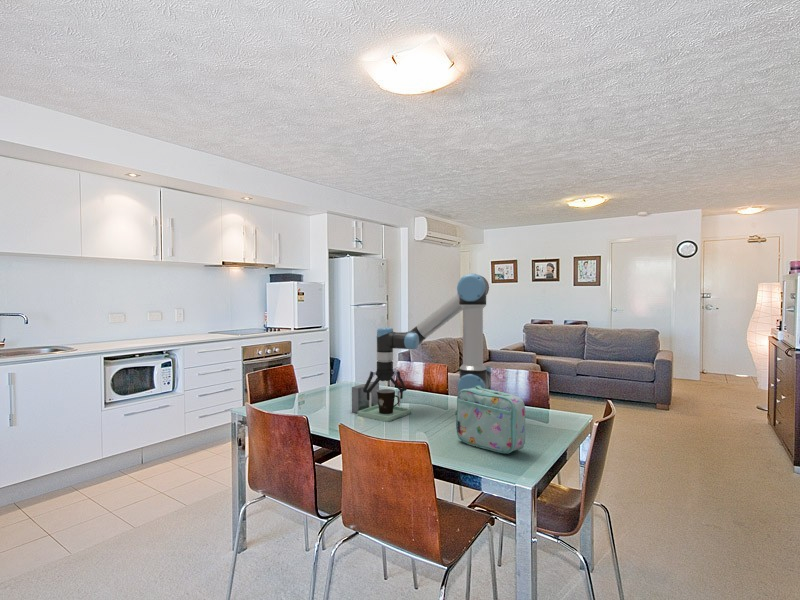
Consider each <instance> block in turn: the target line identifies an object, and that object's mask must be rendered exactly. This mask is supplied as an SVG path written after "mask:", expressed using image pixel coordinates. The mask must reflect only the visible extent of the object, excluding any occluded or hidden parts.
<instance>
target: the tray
mask: <svg viewBox="0 0 800 600" xmlns="http://www.w3.org/2000/svg"><path fill="white" fill-rule="evenodd" d="M410 414H412V409H411V408H406V407H402V406H400V407H399V406H398V405H396V406H395V407H393V413H391V414H381V413H379V405H376V406H373V407H371V408H370V407H369V408H366V409H363V410H360V411H358V413H357V416H359V417H363V418H367V419H371V420H372V419H373V420H377V421H381V422H387V423H389V422H392V421H395V420H397V419H400V418H402V417H405V416H408V415H410Z"/></svg>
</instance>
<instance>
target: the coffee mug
mask: <svg viewBox="0 0 800 600" xmlns="http://www.w3.org/2000/svg"><path fill="white" fill-rule="evenodd" d="M377 396H378V405H379V413H381V414H391V413H393V407H395V406H398V403H399V401H400V402H401V399H399V397H398V394H397V395H396V390H395V389H391V388H390V389H389V388H383V389H381V388H380V389H379V390H377ZM395 398H396V399H397V402H396V404H395Z"/></svg>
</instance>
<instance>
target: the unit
mask: <svg viewBox="0 0 800 600" xmlns="http://www.w3.org/2000/svg"><path fill="white" fill-rule="evenodd" d="M373 382H374V381H371V382H370V384H369V386H368V388H369V387H370V386H371V385H372V384H373ZM365 384H366V383H362V384H359V385H355V386H351V413H354V414H358V411H360V410H363V409H366V408H369V400H367V393H366V392H363V388H364V386H365ZM368 388H367V390H368ZM377 390H380V382H378V383H377V384H376V386H375V387H374V388H373V389H372V391H371V407H373V406H376V405H378V396H377Z"/></svg>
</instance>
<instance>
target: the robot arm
mask: <svg viewBox="0 0 800 600" xmlns="http://www.w3.org/2000/svg"><path fill="white" fill-rule="evenodd" d="M489 290H490V284H489V282H488V280H487V279H486V278H485V277H484V276H482V275H480V274H477V273H468V274H465V275H463V276H462V277H461V278H460V279H459V280H458V282H457V286H456V291H457V292H456V294H455V295H454V296H452V297H451V298H450V299H449V300H447V301H446V302H445V303H444V304H442V305H441V306H439V307H438V308H437V309H436V310H435V311H433V312H432V313H431V314H429V315H428V316H427V317H426V318H425V319H424V320H422V321H421V322H420V323H418V324H417V325H416V326H414V327H413V328H412V329H411V330H408V331H406V332H405V331H404V332H398V331H397V332H395V331H394V328H393V327H379V328H377V330H376V360H377V361H376V371H372V370H371V371H370V372H369V376H368V378H367V380H366V382H365V383H364V384H365V386H364V388H363V392H366V393H367V400H369V407H370V408H371V391H372V389H373V388H374V387H375V386H376V384H377V383H380V382H390V381H391V383H392V384H393V385H394V386H395V387H396V388H397V389H398V391H397V396H398V397H399V399H400V401H399V403H398V402H397V403H398V404H397V407H401V400H402V399H403V397H404V396H403V393H404V392H405V391H407V387H406V385H405V383H404V380H403V379H402V377H401V372H400V371H399V370H395V371H394V362H393V360H394V349H398V350H399V349H400V350H409V351H410V350H417V349H418V347H419V345H420V344H422V343H423V342H424V341H425V340H426V339H427V338H428V337H430V336H431V335H432V334H433V333H434V332H436V331H437V330H440V328H441V327H443V326H444V325H445V324H447V323H448V322H449V321H450V320H452V319H453V318H455V317H456V316H457V315H458V314H459V313H461V312H462V364H461V365H460V366H459V379H458V381H457V390H458V391H457V392H458V393H459V392H460V391H461V390H463V389H471V388H475V386H481V387H482V388H483V389H489V390H492V368H491V367H490V366H487V365H485V364H484V323H483V322H484V320H483V319H484V317H483V316H484V309H485V307H486V306H487V295H488V294H489ZM375 375H376V379H375V380H374V381H372V380H373V378H374V376H375ZM393 376H396V377H397V379H398V382H399V384H400V385H401V387H402V388H401V387H400V385H399V384H398V383H397V382H396V381H395V379H394V378H393ZM370 382H373V384H372V385H371V386H370V387H369V388H368V386H369V384H370ZM367 388H368V390H367Z"/></svg>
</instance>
